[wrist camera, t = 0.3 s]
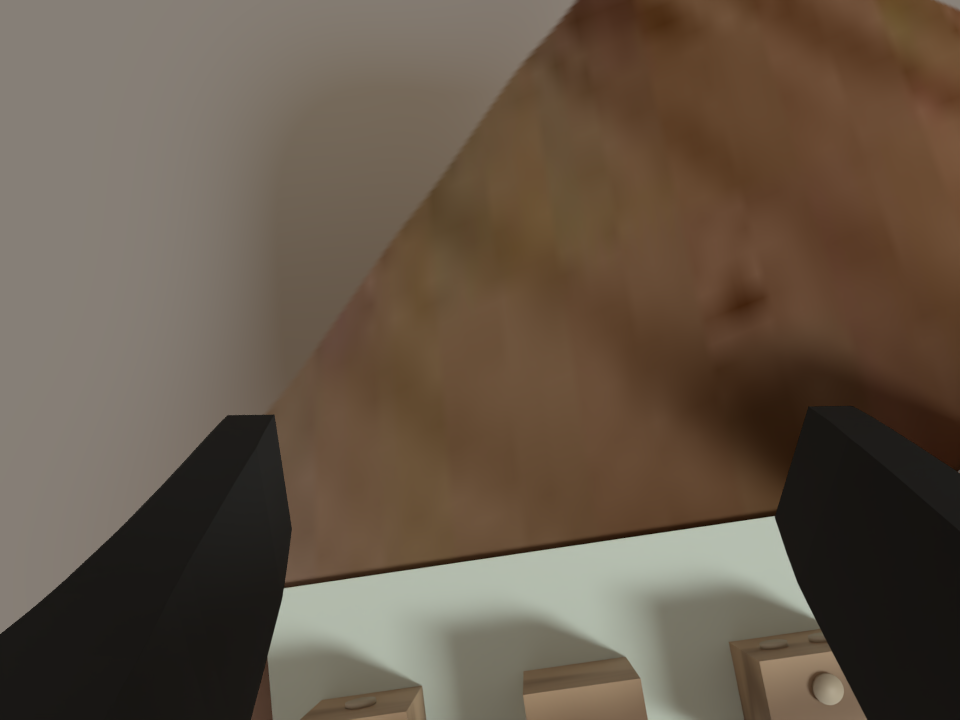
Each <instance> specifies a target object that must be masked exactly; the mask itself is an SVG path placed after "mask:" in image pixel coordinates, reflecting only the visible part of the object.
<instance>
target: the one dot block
mask: <svg viewBox="0 0 960 720" xmlns="http://www.w3.org/2000/svg"><path fill="white" fill-rule="evenodd" d="M300 720H426V713H425V705H424V696H423V688H422V686H416V687H409V688H402V689H395V690H388V691H381V692H374V693H367V694H360V695H353V696H346V697H339V698H332V699H325V700H321V701H320V702H319V703H318V704H317V705H316V706H314V707H313V708H312V709H311V710H310V711H309V712H308V713H307V714H306V715H305V716H303V717H302V718H301V719H300Z"/></svg>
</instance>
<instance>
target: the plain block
mask: <svg viewBox="0 0 960 720" xmlns="http://www.w3.org/2000/svg"><path fill="white" fill-rule="evenodd" d="M523 699H524V706H525V713H526V719H527V720H648V718H647V712H646V706H645V701H644V695H643V689H642V684H641V678H640V677H639V675H638V674H637V672H636V671H635V670H634V668H633V667H632V665H631V664H630V662H629V661H628V659H627V658H626V657H620V658H613V659H606V660H599V661H592V662H584V663H577V664H570V665H563V666H556V667H549V668H542V669H535V670H528V671H524V672H523Z"/></svg>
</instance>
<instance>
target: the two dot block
mask: <svg viewBox="0 0 960 720" xmlns="http://www.w3.org/2000/svg"><path fill="white" fill-rule="evenodd" d="M729 646H730V651H731V656H732V661H733V666H734V671H735V676H736V681H737V686H738V691H739V696H740V701H741V705H742V710H743V715H744V720H867V718H866V716H865V714H864V713H863V711H862V709H861V707H860V705H859V703H858V701H857V699H856V697H855V695H854V693H853V691H852V689H851V687H850V685H849V684H848V682H847V680H846V678H845V676H844V674H843V672H842V670H841V668H840V666H839V664H838V662H837V660H836V658H835V656H834V655H833V653H832V651H831V649H830V647H829V645H828V643H827V641H826V639H825V637H824V635H823V633H822V631H821V629H816V630H809V631H802V632H795V633H788V634H781V635H774V636H767V637H760V638H753V639H746V640H739V641H732V642H729Z"/></svg>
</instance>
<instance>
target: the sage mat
mask: <svg viewBox="0 0 960 720" xmlns="http://www.w3.org/2000/svg"><path fill="white" fill-rule="evenodd" d="M816 629H820V627H819V625H818V623H817V621H816V619H815V617H814V615H813V613H812V611H811V609H810V607H809V605H808V603H807V602H806V599H805V597H804V595H803V593H802V591H801V589H800V587H799V585H798V583H797V580H796V578H795V575H794V572H793V569H792V567H791V564H790V561H789V559H788V556H787V553H786V550H785V547H784V544H783V541H782V538H781V535H780V532H779V529H778V526H777V523H776V520H775V516H770V517H764V518H757V519H750V520H743V521H736V522H730V523H723V524H716V525H709V526H703V527H696V528H689V529H682V530H675V531H669V532H662V533H655V534H648V535H641V536H635V537H628V538H621V539H614V540H607V541H601V542H594V543H587V544H580V545H573V546H567V547H560V548H553V549H546V550H540V551H533V552H526V553H519V554H512V555H506V556H499V557H492V558H485V559H478V560H472V561H465V562H458V563H451V564H444V565H438V566H431V567H424V568H417V569H411V570H404V571H397V572H390V573H383V574H377V575H370V576H363V577H356V578H349V579H343V580H336V581H329V582H322V583H315V584H309V585H302V586H295V587H288V588H284V590H283V597H282V602H281V606H280V610H279V614H278V618H277V621H276V625H275V629H274V633H273V637H272V641H271V645H270V648H269V652H268V656H267V657H268V669H269V681H270V693H271V704H272V716H273V720H300V719H301V718H302V717H303V716H305V715H306V714H307V713H308V712H309V711H310V710H311V709H312V708H313V707H314V706H316V705H317V704H318V703H319V702H320V701H321V700H325V699H332V698H339V697H346V696H353V695H360V694H367V693H374V692H381V691H388V690H395V689H402V688H409V687H416V686H422V688H423V696H424V705H425V713H426V720H527V719H526V713H525V706H524V699H523V672H524V671H528V670H535V669H542V668H549V667H556V666H563V665H570V664H577V663H584V662H592V661H599V660H606V659H613V658H620V657H626V658H627V659H628V661H629V662H630V664H631V665H632V667H633V668H634V670H635V671H636V672H637V674H638V675H639V677H640V678H641V684H642V689H643V695H644V701H645V706H646V712H647V718H648V720H744V715H743V710H742V705H741V701H740V696H739V691H738V686H737V681H736V676H735V671H734V666H733V661H732V656H731V651H730V646H729V642H732V641H739V640H746V639H753V638H760V637H767V636H774V635H781V634H788V633H795V632H802V631H809V630H816Z"/></svg>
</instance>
